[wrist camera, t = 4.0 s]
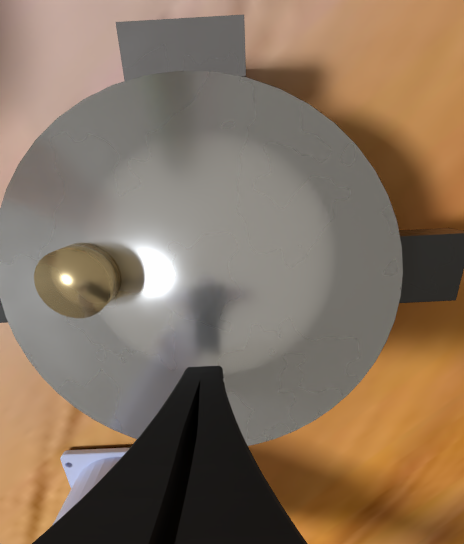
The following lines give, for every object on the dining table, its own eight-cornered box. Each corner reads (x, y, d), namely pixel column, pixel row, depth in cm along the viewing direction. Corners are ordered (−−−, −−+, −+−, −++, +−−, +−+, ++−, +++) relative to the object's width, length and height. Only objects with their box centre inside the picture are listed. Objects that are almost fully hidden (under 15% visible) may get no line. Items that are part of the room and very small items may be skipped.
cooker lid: (362, 420, 13) (386, 464, 11) (72, 433, 14) (44, 479, 11) (414, 72, 8) (474, 36, 6) (-41, 98, 9) (-126, 71, 7)
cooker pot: (388, 352, 17) (434, 401, 13) (51, 368, 17) (0, 421, 13) (438, 57, 12) (536, -3, 8) (-44, 84, 12) (-170, 38, 8)
